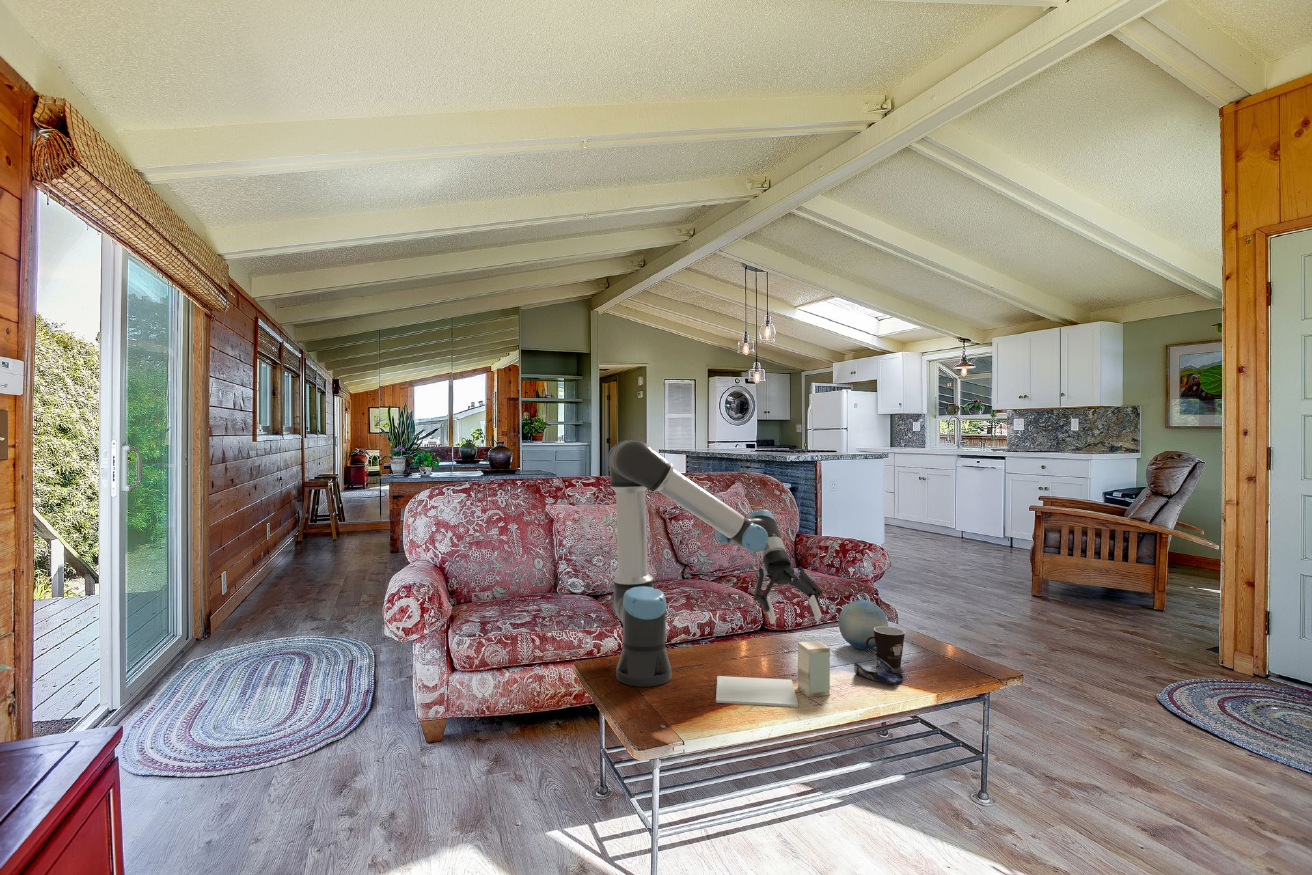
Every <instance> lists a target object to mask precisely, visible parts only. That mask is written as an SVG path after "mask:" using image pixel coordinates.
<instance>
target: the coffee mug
mask: <svg viewBox="0 0 1312 875" xmlns="http://www.w3.org/2000/svg"><path fill="white" fill-rule="evenodd" d="M905 635H906V632H905V630H903V629H901V628H898V627H893V626H888V627H875V628H874V637H873V636H871V637H869V638H868V639H867V641H866V647H867V648H868V649H867V650H868V651H869V652H870V653H872V654H873V655H875V656H876V658H877V659H876V662H877V665H878V667H881V666H880V665H879V664H878V658H880V659H882V660H883V661H884V662H886V663H887V664H889V665H890V666H891V667H892V668H893V670H895V669H900V668H901V666H902V658H903V657H902V656H903V650H904V642H905ZM870 639H875V646H876V647H875V651H873V650H872V649H870V648H869V646H868V642H869V640H870Z"/></svg>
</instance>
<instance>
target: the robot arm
mask: <svg viewBox="0 0 1312 875" xmlns="http://www.w3.org/2000/svg"><path fill="white" fill-rule="evenodd" d="M606 460H607V461H606V464H607V469H608V470H609V481H610V482H609V484H610V488H611V489H612V490H613V491H614V492H615V499H616V501H615V503H616V504H615V505H616V507H615V508H616V530H617V534H616V535H617V560H618V563H617V565H618V566H617V567H618V568H617V569H618V574H617V575H616V576H615V577H614V578H613V593H612V596H611V605H612V610H613V612H614V615H616V617H617V618H618V619H619V620H620V621H621V623H622V626H623V627H622V628H623V629H622V642H623V643H622V650H621V653H620V656H619V659H618V663H617V666H616V670H615V672H616V673H615V677H616V680H617V681H618V682H620V683H622V684H624V685H627V686H631V687H645V688H647V687H656V686H661V685H664V684H667V683H668V682H670V681H671V679H672V666H671V663H670V660H669V656H668V653H667V650H666V649H667V648H666V633H667V632H666V631H667V630H666V624H667V623H666V622H667V620H666V616H667V611H666V610H667V601H666V599H667V598H666V594H664V592H663V591H662V590H660V589H658V588H654V577H653V576H652V575H651V574H650V573H649V572H648V570H649V569H648V544H647V540H648V539H647V538H648V537H647V520H646V519H647V517H646V516H647V513H646V512H647V510H646V509H647V508H646V491H647V490H649V491H651V492H652V493H656V492H658V493H661V495H663V496H665V497H666V498H668V499H669V500H671V501H672V502H674V503H675V504H677V505H678V506H680V507H681V508H682V509H684V510H686V511H688V512H689V513H690V514H692V515H694V516H695V517H696V518H698V519H700V520H701V521H702V522H704V523H705V524H707V525H708V526H710V527H712V528H713V529H714V535H715V539H716V541H717V543H718V544H721V545H722V544H726V545H728V544H733V545H735V546H737V547H740V548H743V549H745V550H747V551H748V552H753V553H757V552H759V554H760V556H761V558H762V563H763V565H764V569H763V568H762V567H760V568H758V570H757V573H756V577H757V581H756V584H755V589H754V590H755V591H754V595H753V601H754V602H757V601H759V604H760V605H761V606H762V609H763V611H764V612H765V613H767V616H768V618H769V622H770V624H771V625H773V624H774V623H775V622H776V620H777V616H776V613H775V611H774V607H773V604H772V601H771V598H770V597H768V595H769V594H770V592H771V590H772V589H773V586H774V585H775V584H777V585H778V586H780V585H788V584H789V585H790V586H792V587H794V588H796V589H797V590H798V591H800V592H801V593H803V594H804V595H805V596H807V597H808V598H809V599H808V601H809V602H808V603H809V604H810V608H811V610H812V613H813V616H814V618H815V621H816V622H817V621H819V620H820V619H821V618H822V617H823V614H822V612H821V609H820V607H821V602H820V599H819V598H820V596H821V594H822V592H823V590H822V589H821V588H820V587H819V586H818V585H817V584H816V583H815V581H814V580H812V578H810V576H809V575H808V574H807V573H806V572H805V569H804V568H803V567H802V566H801V565H800V566H798V567H797V568H793V567H792V565H791V561H790V558H789V556H788V552H787V550H786V547H785V545H784V544H785V543H784V542H783V539H782V537H781V533H780V531H779V528H778V523H777V521H776V519H775V517H774V515H773V513H772V512H771V511H770V510H767V509H759V510H755V511H753V512H752V513H751V514H750V515H749V517H748V518H747V517H746V516H744V514H743V515H742V514H741V513H739V512H738V511H736V510H735V509H734V508H732V507H731V506H729V505H728V504H727V503H725V502H723V501H722V500H721V499H719V498H718V497H716V496H714V495H713V494H712V493H710V492H708V490H706V489H704V488H703V487H701V486H700V485H699V484H696V483H695V482H694V481H692V480H691V479H689V477H687V476H685V475H683V474H682V473H681V472H679V471H678V470H676V469H675V468H674V466H673V463H672V462H671V461H669V459H667V458H665V457H664V456H663V455H661V454H660V453H659V452H658V451H657V450H655V449H654V448H653V447H652V446H650V445H649V444H647V443H646V442H644V441H640V440H630V439H629V440H628V439H627V440H621V441H619V442H617V443H616V444H615V445H613V446H612V447H611V449H610V450H609V452H608V454H607V459H606ZM766 576H767V577H768V579H769V580H770V581H769V583H768V584H767V586H766V587H765V590H764V591H763V593H762V594H761V591H762V586H763V582H764V578H765V577H766Z"/></svg>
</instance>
